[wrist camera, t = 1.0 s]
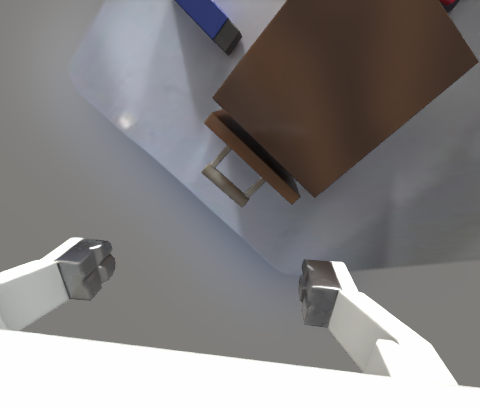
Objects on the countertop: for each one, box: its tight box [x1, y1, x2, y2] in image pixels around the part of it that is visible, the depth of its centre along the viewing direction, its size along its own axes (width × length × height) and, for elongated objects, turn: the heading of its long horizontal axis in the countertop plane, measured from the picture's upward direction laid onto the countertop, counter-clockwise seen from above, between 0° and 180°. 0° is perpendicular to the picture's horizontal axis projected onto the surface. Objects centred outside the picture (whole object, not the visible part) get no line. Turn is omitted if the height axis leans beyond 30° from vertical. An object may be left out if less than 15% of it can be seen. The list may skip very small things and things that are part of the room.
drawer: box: [201, 109, 300, 207], centre depth 24 cm, size 18×11×8 cm, turn 137°
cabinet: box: [212, 0, 479, 197], centre depth 22 cm, size 15×13×10 cm
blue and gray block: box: [175, 0, 242, 55], centre depth 23 cm, size 8×2×2 cm, turn 47°
